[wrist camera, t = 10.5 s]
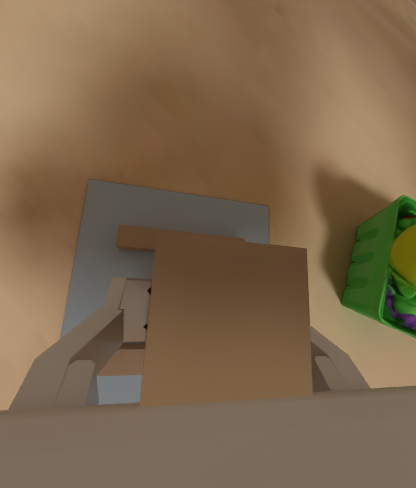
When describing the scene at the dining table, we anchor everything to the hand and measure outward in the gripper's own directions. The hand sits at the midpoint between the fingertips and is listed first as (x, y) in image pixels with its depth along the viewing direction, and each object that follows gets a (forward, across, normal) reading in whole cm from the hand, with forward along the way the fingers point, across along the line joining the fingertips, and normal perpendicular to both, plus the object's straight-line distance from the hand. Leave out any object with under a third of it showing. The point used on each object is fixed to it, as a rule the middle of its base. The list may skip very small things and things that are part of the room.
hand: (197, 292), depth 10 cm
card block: (+3, 0, +4) cm, 5 cm away
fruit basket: (+8, -19, +4) cm, 22 cm away
